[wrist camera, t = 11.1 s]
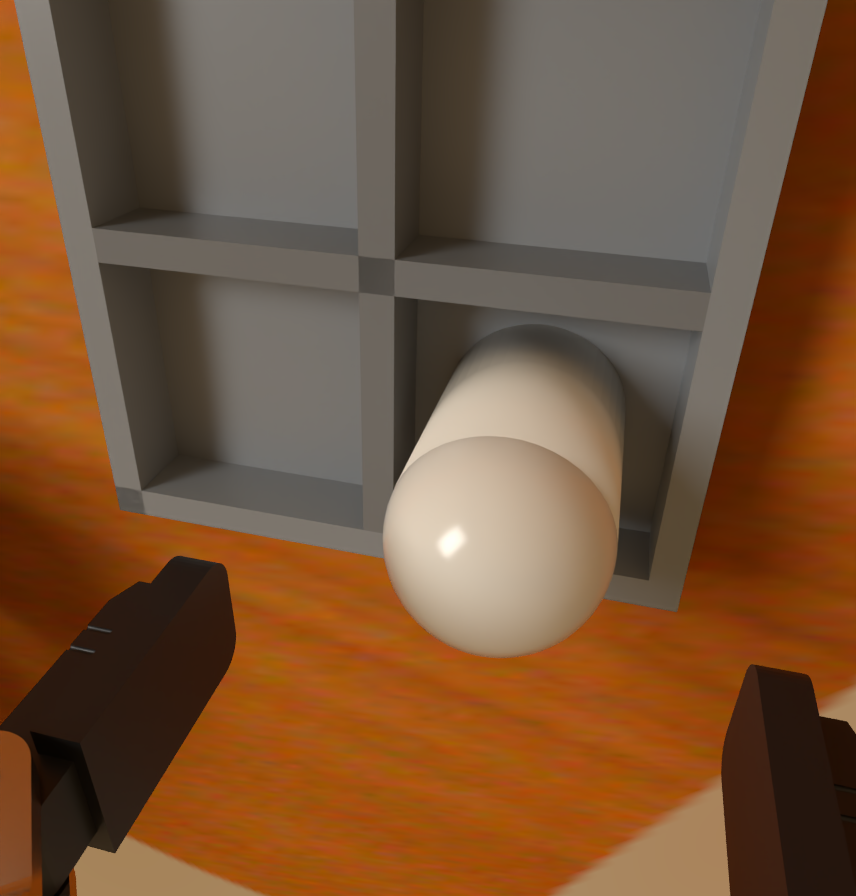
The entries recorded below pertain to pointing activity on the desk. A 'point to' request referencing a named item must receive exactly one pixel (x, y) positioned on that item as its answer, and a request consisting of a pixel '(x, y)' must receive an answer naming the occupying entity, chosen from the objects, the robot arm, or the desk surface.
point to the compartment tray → (408, 234)
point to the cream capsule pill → (512, 495)
